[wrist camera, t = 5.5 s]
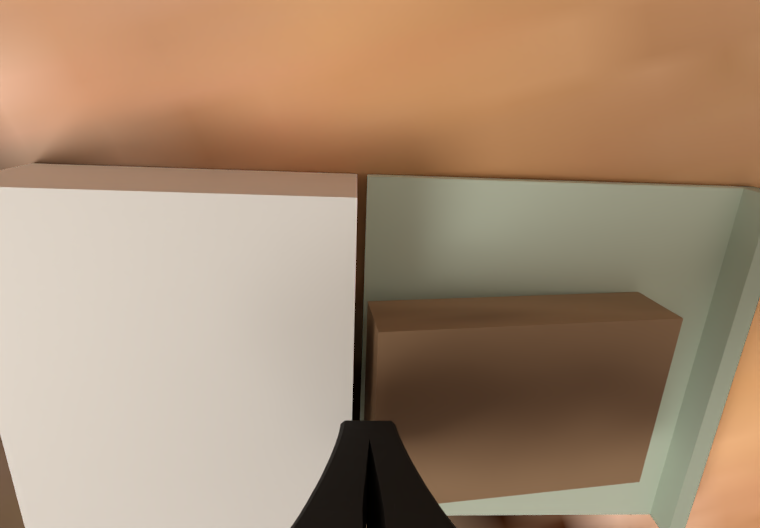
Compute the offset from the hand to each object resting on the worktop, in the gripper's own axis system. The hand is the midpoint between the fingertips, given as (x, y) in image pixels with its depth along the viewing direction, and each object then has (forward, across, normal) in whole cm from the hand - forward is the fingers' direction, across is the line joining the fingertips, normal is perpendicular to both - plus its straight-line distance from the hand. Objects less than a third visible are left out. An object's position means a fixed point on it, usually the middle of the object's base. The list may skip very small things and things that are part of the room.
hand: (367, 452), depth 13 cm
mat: (+4, -6, 0) cm, 8 cm away
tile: (+3, -4, 0) cm, 6 cm away
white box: (+4, +5, 0) cm, 7 cm away
